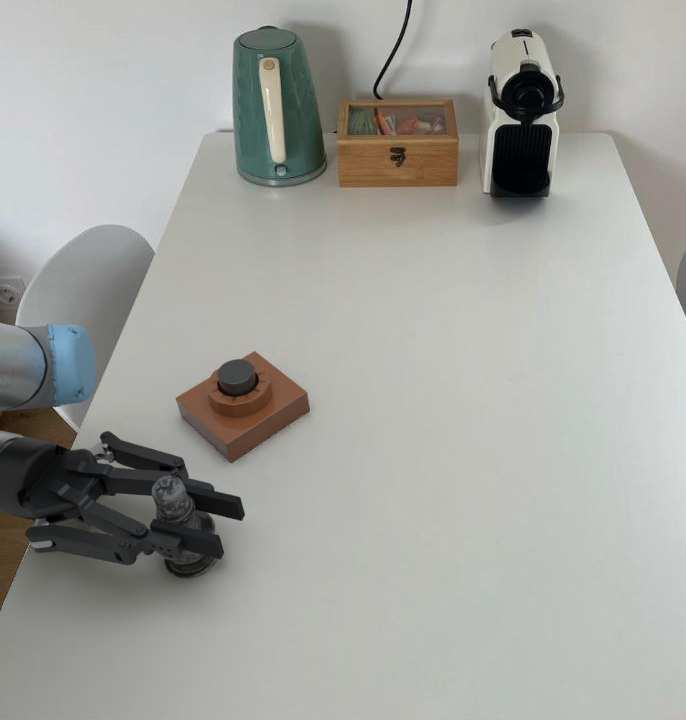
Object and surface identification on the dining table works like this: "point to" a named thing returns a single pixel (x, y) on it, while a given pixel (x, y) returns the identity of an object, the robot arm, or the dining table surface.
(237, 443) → the brown square base plate
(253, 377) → the button
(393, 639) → the dining table surface
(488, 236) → the dining table surface
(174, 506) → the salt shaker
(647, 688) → the dining table surface
